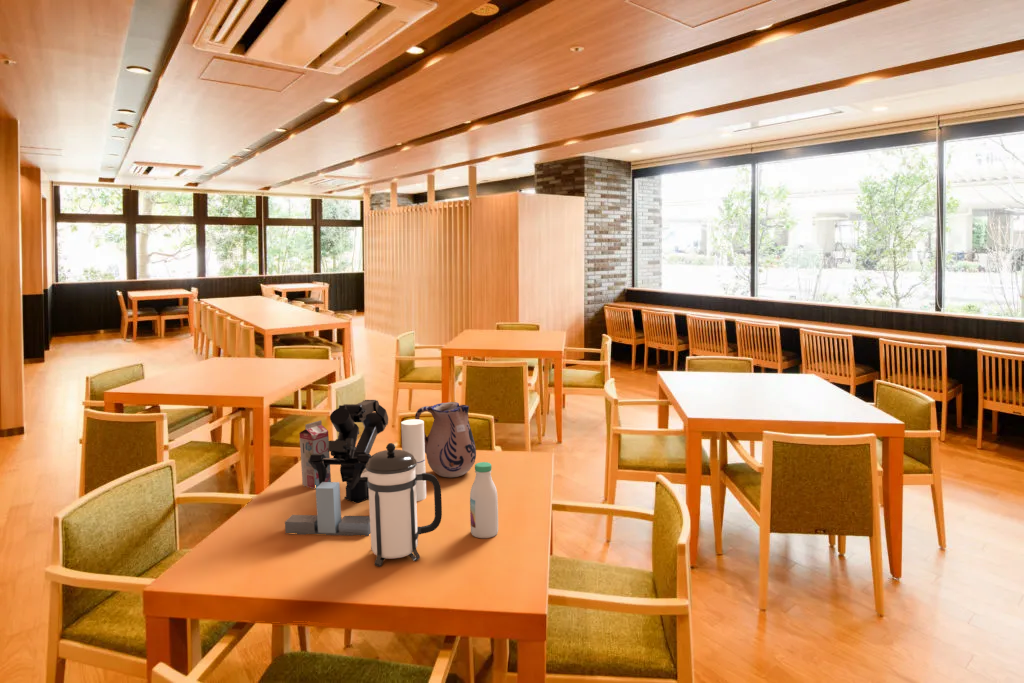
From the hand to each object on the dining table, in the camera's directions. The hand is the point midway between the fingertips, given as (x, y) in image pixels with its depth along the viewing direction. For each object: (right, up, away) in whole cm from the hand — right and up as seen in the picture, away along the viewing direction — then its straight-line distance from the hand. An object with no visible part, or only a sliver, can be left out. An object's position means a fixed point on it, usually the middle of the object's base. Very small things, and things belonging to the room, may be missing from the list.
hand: (336, 488), depth 186 cm
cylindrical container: (+20, -8, +20) cm, 29 cm away
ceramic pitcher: (+28, -5, +42) cm, 51 cm away
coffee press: (+22, -13, -19) cm, 32 cm away
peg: (0, -10, -5) cm, 12 cm away
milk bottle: (+44, -11, -8) cm, 46 cm away
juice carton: (-16, -6, +33) cm, 37 cm away
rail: (0, -11, -5) cm, 12 cm away
